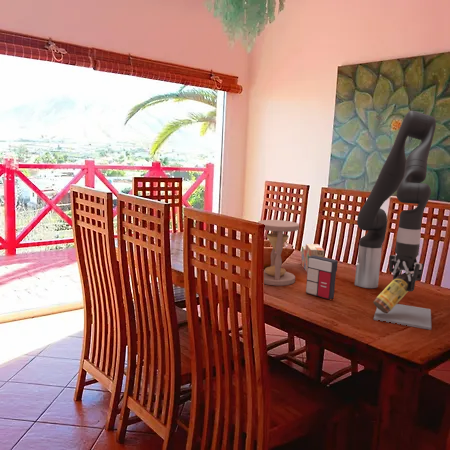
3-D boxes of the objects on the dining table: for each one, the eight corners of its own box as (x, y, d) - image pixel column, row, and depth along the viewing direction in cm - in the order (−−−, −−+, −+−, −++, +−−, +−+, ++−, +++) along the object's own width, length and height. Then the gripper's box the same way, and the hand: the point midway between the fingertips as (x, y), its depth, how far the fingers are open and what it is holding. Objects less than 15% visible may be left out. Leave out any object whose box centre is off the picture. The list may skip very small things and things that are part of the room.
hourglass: (294, 287, 191) (298, 227, 186) (252, 283, 193) (255, 224, 189) (295, 276, 208) (299, 221, 204) (256, 272, 211) (260, 218, 206)
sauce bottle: (373, 300, 157) (410, 258, 160) (371, 303, 163) (406, 262, 166) (389, 313, 155) (426, 270, 158) (386, 316, 161) (422, 274, 164)
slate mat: (373, 319, 157) (373, 317, 157) (378, 302, 176) (379, 300, 175) (431, 329, 150) (431, 327, 150) (430, 311, 169) (430, 309, 169)
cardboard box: (300, 264, 232) (302, 239, 230) (312, 264, 232) (314, 240, 230) (308, 275, 210) (310, 249, 208) (322, 276, 211) (324, 249, 209)
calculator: (304, 293, 183) (307, 256, 181) (310, 291, 186) (313, 254, 184) (328, 300, 176) (332, 262, 174) (334, 298, 179) (338, 260, 177)
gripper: (432, 245, 153) (427, 293, 156) (401, 236, 166) (396, 281, 169) (415, 246, 150) (409, 295, 153) (384, 237, 163) (380, 283, 166)
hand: (402, 288), depth 161 cm, fingers closed on sauce bottle, 6 cm apart
